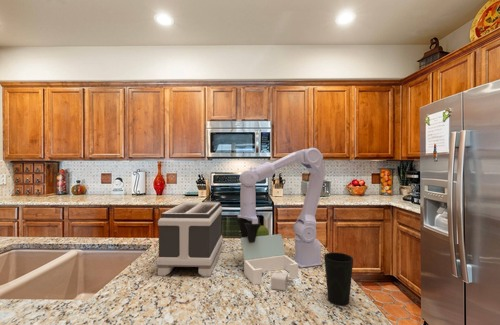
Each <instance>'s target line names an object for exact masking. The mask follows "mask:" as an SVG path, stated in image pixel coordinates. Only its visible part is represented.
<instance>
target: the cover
mask: <svg viewBox="0 0 500 325" xmlns="http://www.w3.org/2000/svg"><path fill="white" fill-rule="evenodd" d="M240 242H241V250H242V258H243V261H244V260H252V259H259V258H267V257H275V256H282V255H286V251H285V250H286V249H285V245H284V241H283V236H282V233H277V234H269V235H266V236H256V239H255V242H253V243H249V241H248V236H247V237H241V238H240Z"/></svg>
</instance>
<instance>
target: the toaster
mask: <svg viewBox="0 0 500 325" xmlns="http://www.w3.org/2000/svg"><path fill="white" fill-rule="evenodd" d="M221 203H222V202H218V201H217V202H215V201H213V202H207V201H203V202H200V201H199V202H196V201H195V202H194V201H192V202H191V201H183V202H182V203H180V204H178V205H175V206H172V207H171V208H169V209H167V210H165V211H163V212H161V213H160V218H158V220H157V226H158V257H157V259H156V266H157V275H158V276H159V277H165V276H167V275H169V274H170V273H171V272H172V271H173V270H174V268H175V267H178V268H179V267H180V268H181V267H182V268H194V267H195V268H198V274H199V275H200V276H202V277H205V278H206V277H211V275H212V274H213V270H214V269H215V266H216V264H217V261H218V259H219V256H220V254H221V252H222V250H223V240H224V239H223V235H222V215H223V214H222V212H223V206H221Z"/></svg>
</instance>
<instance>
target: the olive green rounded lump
mask: <svg viewBox="0 0 500 325" xmlns="http://www.w3.org/2000/svg"><path fill="white" fill-rule="evenodd" d="M266 235H270V233H269V229H268V228H267V227H266V226H265V225H261V226H260V227H259V229H258V232H257V235H256V236H266Z"/></svg>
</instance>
